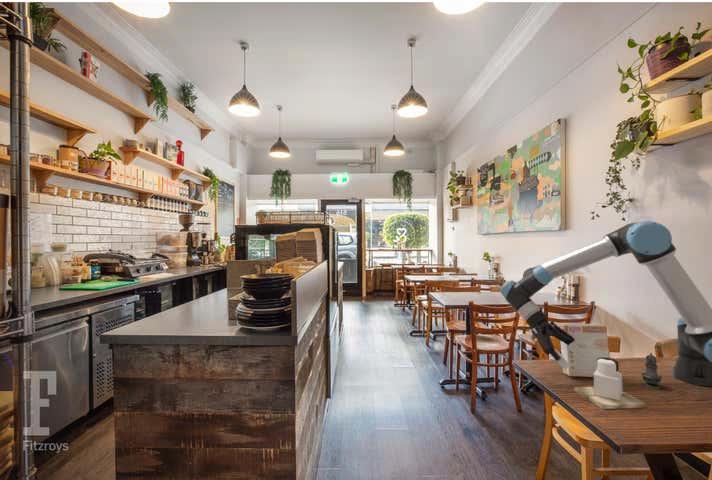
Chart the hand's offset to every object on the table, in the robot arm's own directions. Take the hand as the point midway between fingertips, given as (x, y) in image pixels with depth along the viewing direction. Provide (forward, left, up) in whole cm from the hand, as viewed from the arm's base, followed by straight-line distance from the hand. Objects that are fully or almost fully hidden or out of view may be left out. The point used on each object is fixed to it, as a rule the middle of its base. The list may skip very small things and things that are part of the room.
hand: (576, 363), depth 128 cm
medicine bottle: (-6, +8, -8) cm, 13 cm away
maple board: (-6, +8, -9) cm, 13 cm away
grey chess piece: (-29, -1, -9) cm, 30 cm away
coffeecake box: (-11, -11, -9) cm, 18 cm away
